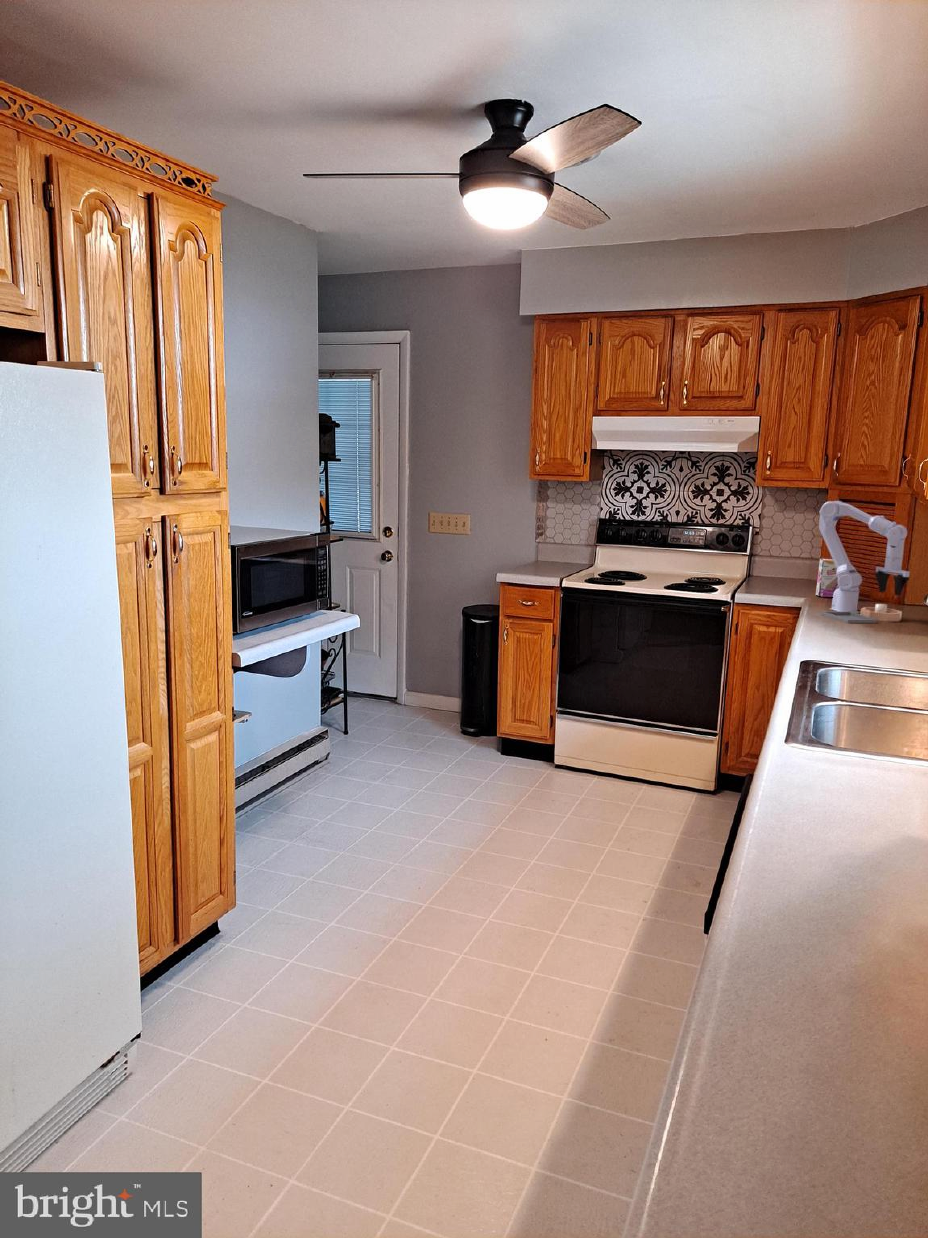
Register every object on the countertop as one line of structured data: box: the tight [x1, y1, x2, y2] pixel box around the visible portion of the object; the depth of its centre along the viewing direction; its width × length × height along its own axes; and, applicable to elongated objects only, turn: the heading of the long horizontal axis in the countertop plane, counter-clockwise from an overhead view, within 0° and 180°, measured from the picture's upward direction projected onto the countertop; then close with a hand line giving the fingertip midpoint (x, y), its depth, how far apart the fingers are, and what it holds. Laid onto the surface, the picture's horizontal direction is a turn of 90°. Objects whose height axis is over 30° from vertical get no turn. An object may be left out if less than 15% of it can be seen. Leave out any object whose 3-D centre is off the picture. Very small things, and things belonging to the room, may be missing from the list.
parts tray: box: [821, 611, 878, 624], centre depth 329 cm, size 16×12×2 cm
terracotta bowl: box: [859, 606, 903, 622], centre depth 332 cm, size 13×13×4 cm
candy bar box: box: [815, 558, 839, 598], centre depth 382 cm, size 11×5×16 cm, turn 84°
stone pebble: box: [874, 603, 888, 613], centre depth 332 cm, size 4×4×5 cm
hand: (889, 593), depth 335 cm, fingers open, 7 cm apart
